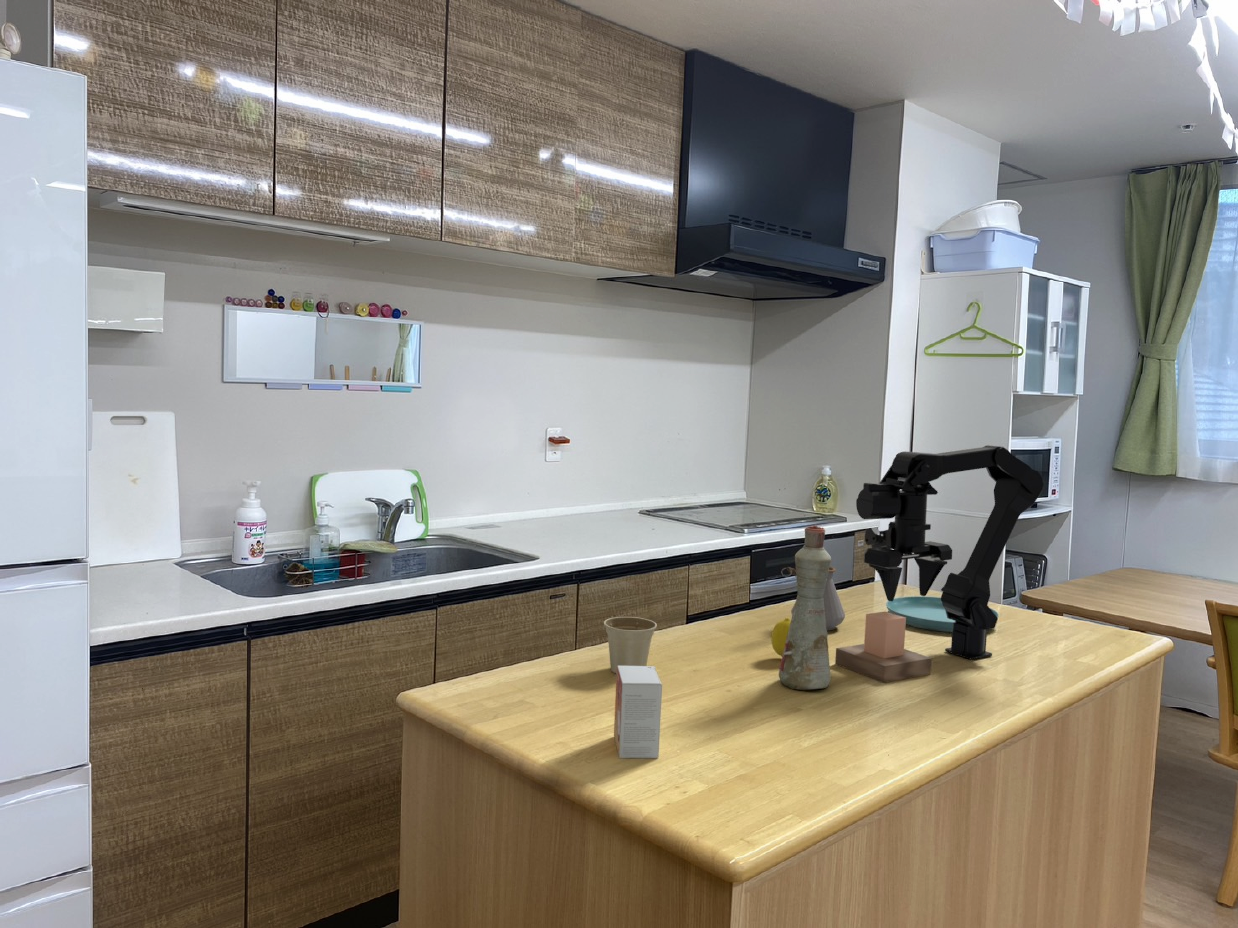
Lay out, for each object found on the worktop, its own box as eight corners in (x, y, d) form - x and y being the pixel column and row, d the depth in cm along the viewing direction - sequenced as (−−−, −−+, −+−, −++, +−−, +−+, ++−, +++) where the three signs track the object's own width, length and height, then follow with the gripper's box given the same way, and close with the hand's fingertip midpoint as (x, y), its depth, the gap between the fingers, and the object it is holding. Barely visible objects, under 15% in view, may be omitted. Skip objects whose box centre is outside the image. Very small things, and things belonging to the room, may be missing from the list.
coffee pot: (806, 616, 205) (809, 551, 204) (853, 626, 198) (857, 558, 197) (757, 633, 189) (761, 563, 188) (807, 645, 182) (811, 571, 180)
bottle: (799, 695, 150) (808, 529, 148) (768, 679, 159) (776, 521, 156) (841, 690, 154) (850, 527, 152) (808, 674, 162) (817, 519, 160)
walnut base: (880, 656, 176) (881, 641, 175) (930, 674, 165) (931, 658, 165) (835, 663, 169) (836, 648, 169) (883, 682, 159) (884, 666, 159)
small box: (613, 736, 130) (616, 664, 129) (652, 736, 130) (655, 664, 129) (618, 759, 122) (621, 682, 121) (659, 759, 122) (662, 683, 121)
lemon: (800, 665, 168) (802, 622, 167) (769, 662, 169) (772, 620, 168) (800, 656, 173) (802, 615, 173) (770, 654, 174) (773, 613, 174)
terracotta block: (882, 648, 171) (885, 611, 170) (903, 655, 166) (906, 617, 166) (863, 651, 168) (866, 613, 167) (884, 658, 164) (886, 620, 163)
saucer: (878, 606, 220) (878, 593, 220) (981, 613, 217) (982, 599, 216) (894, 632, 196) (895, 617, 196) (1011, 640, 193) (1012, 624, 192)
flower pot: (666, 672, 161) (668, 624, 160) (630, 683, 154) (632, 633, 153) (626, 659, 167) (628, 613, 166) (590, 670, 160) (592, 622, 159)
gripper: (909, 509, 185) (906, 585, 186) (844, 515, 175) (841, 594, 176) (955, 517, 175) (951, 596, 176) (889, 523, 165) (885, 607, 167)
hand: (906, 598), depth 174 cm, fingers open, 9 cm apart
